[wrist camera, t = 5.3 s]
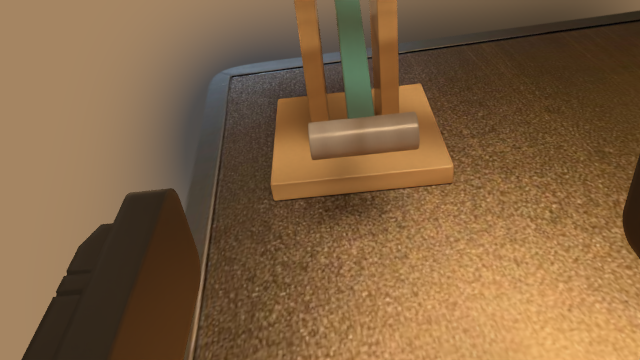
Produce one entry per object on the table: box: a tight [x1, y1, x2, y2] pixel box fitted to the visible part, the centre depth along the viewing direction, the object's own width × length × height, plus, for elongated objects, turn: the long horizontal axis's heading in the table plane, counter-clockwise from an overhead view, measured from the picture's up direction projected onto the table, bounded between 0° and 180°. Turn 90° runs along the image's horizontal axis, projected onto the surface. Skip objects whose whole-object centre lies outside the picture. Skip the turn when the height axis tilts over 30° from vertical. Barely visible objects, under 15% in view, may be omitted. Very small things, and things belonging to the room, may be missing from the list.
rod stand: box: [271, 0, 454, 201], centre depth 29 cm, size 10×10×14 cm
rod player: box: [308, 0, 420, 160], centre depth 24 cm, size 13×4×2 cm, turn 1°
